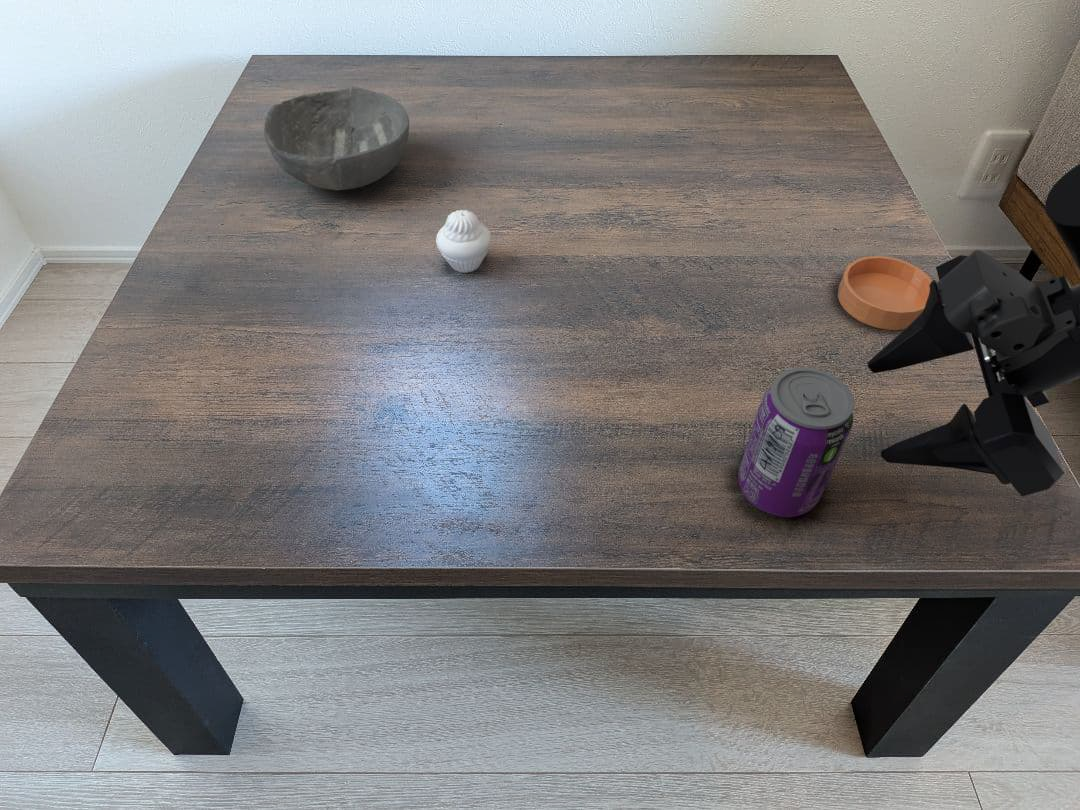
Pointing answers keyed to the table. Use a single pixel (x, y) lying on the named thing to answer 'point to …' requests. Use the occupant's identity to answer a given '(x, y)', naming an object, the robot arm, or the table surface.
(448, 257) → the muffin
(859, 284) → the terracotta bowl
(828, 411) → the beverage can
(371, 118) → the bowl
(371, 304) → the table surface
